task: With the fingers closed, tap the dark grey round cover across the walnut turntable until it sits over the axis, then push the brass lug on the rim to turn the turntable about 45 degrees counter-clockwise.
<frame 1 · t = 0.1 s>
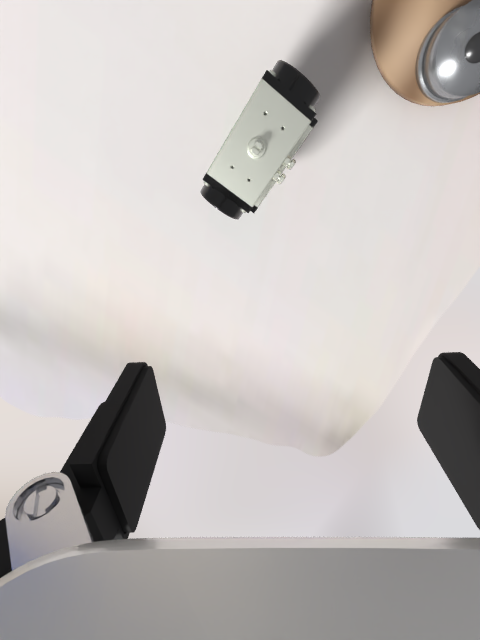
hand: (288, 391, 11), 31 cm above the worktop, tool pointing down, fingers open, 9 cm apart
pneumatic valve: (258, 150, 35), on the worktop
cover: (454, 58, 29), point 2 cm above the worktop, touching turntable
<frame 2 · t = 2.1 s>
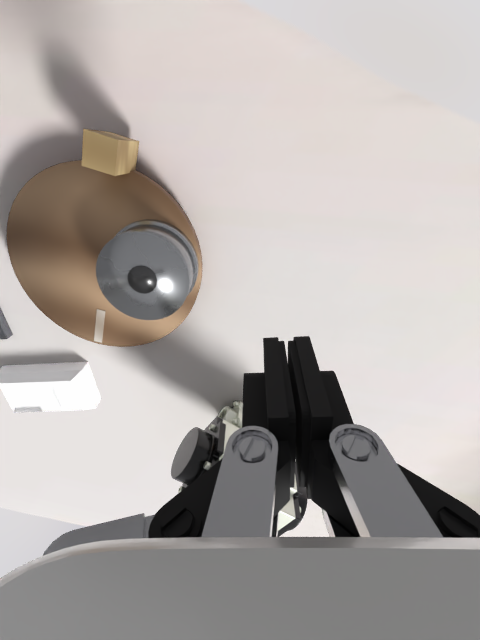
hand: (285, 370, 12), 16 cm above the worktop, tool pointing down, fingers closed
pneumatic valve: (245, 411, 35), on the worktop
cover: (155, 263, 25), point 2 cm above the worktop, touching turntable
white switch plate: (56, 379, 34), on the worktop
turntable: (102, 258, 24), point 3 cm above the worktop, hinge at 0.0°, touching cover
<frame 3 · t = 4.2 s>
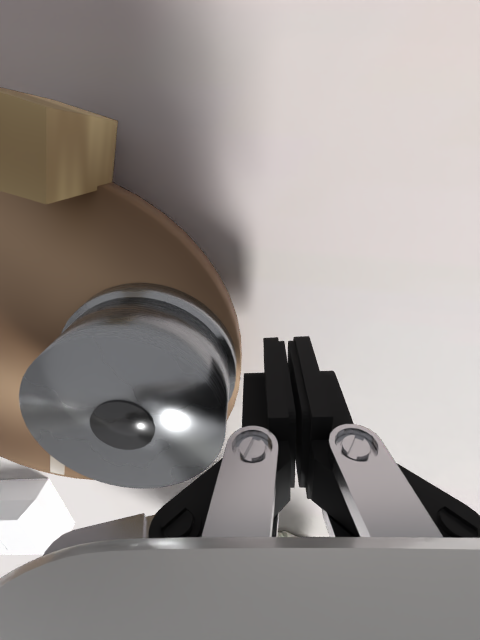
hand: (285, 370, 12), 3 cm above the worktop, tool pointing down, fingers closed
cover: (153, 360, 13), point 2 cm above the worktop, touching gripper
white switch plate: (6, 495, 23), on the worktop
turntable: (49, 357, 12), point 3 cm above the worktop, hinge at 0.0°
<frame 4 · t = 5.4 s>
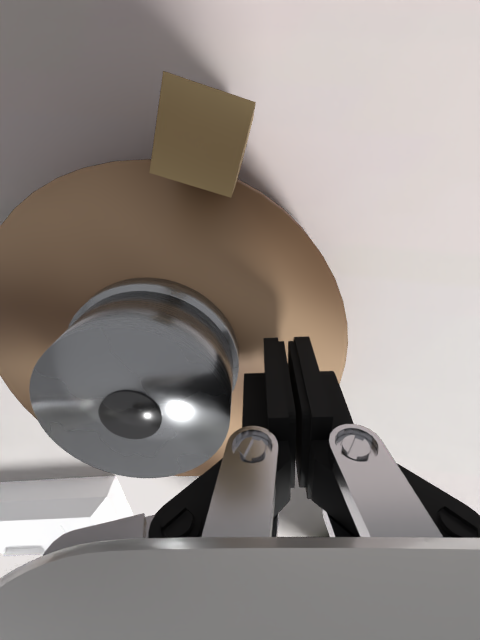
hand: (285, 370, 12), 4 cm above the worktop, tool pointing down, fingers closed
cover: (157, 354, 13), point 2 cm above the worktop, touching gripper, turntable
white switch plate: (67, 494, 23), on the worktop
turntable: (165, 352, 12), point 3 cm above the worktop, hinge at 0.5°, touching cover
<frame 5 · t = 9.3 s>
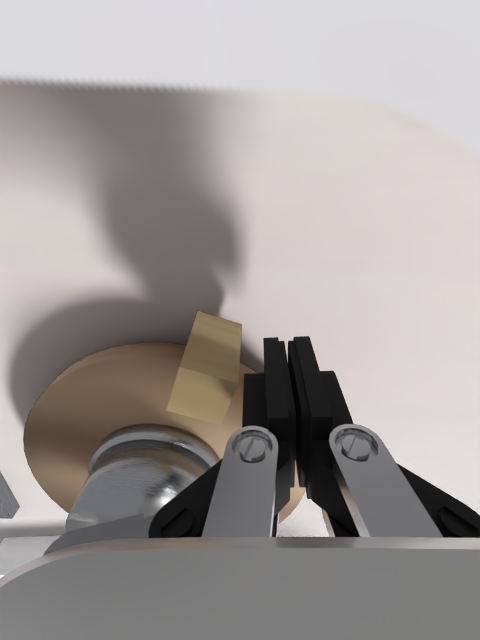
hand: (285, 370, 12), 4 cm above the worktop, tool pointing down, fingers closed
cover: (159, 469, 17), point 2 cm above the worktop, touching turntable
white switch plate: (74, 544, 26), on the worktop
turntable: (168, 476, 16), point 3 cm above the worktop, hinge at 0.8°, touching cover, gripper
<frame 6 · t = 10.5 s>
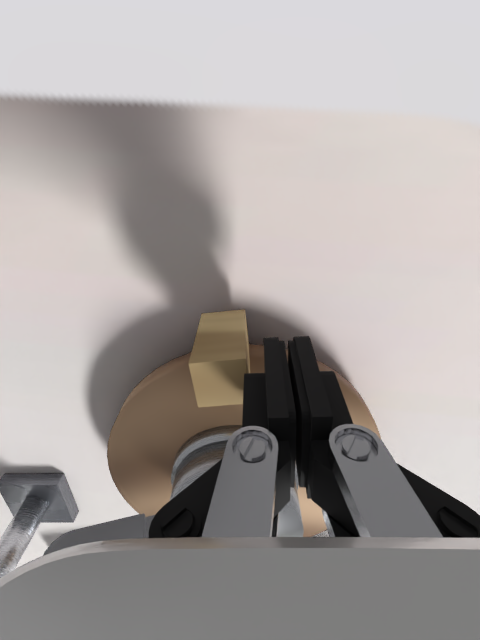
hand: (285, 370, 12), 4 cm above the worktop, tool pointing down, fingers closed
cover: (235, 470, 18), point 2 cm above the worktop, touching turntable
gauge post: (43, 493, 22), on the worktop
turntable: (242, 473, 17), point 3 cm above the worktop, hinge at 25.3°, touching cover, gripper
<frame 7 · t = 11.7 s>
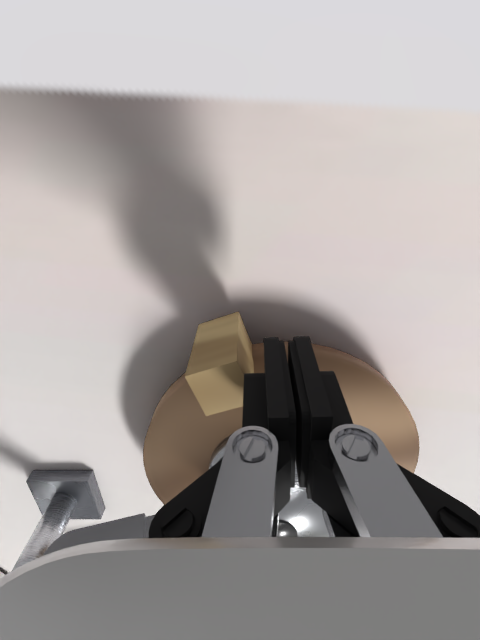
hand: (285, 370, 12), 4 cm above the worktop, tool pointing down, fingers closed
cover: (270, 469, 18), point 2 cm above the worktop, touching turntable
gauge post: (70, 489, 22), on the worktop
turntable: (275, 471, 17), point 3 cm above the worktop, hinge at 39.3°, touching cover, gripper
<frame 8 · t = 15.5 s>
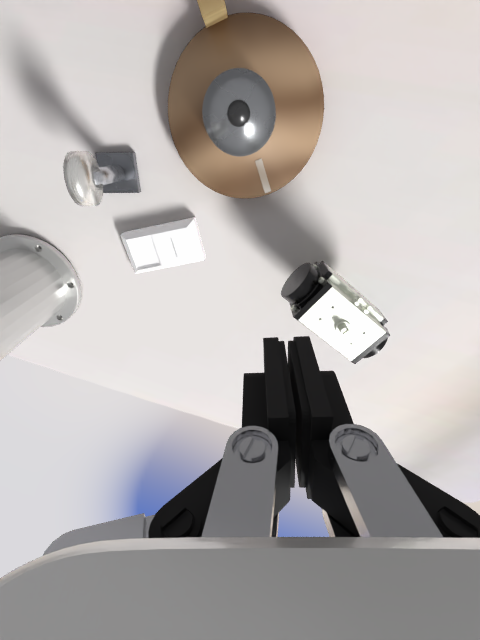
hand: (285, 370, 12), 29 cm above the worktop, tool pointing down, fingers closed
pneumatic valve: (323, 281, 41), on the worktop
cover: (240, 116, 31), point 2 cm above the worktop, touching turntable
white switch plate: (166, 243, 40), on the worktop
gauge post: (120, 172, 36), on the worktop
turntable: (241, 104, 30), point 3 cm above the worktop, hinge at 39.4°, touching cover
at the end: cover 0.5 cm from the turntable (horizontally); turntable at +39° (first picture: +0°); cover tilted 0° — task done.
